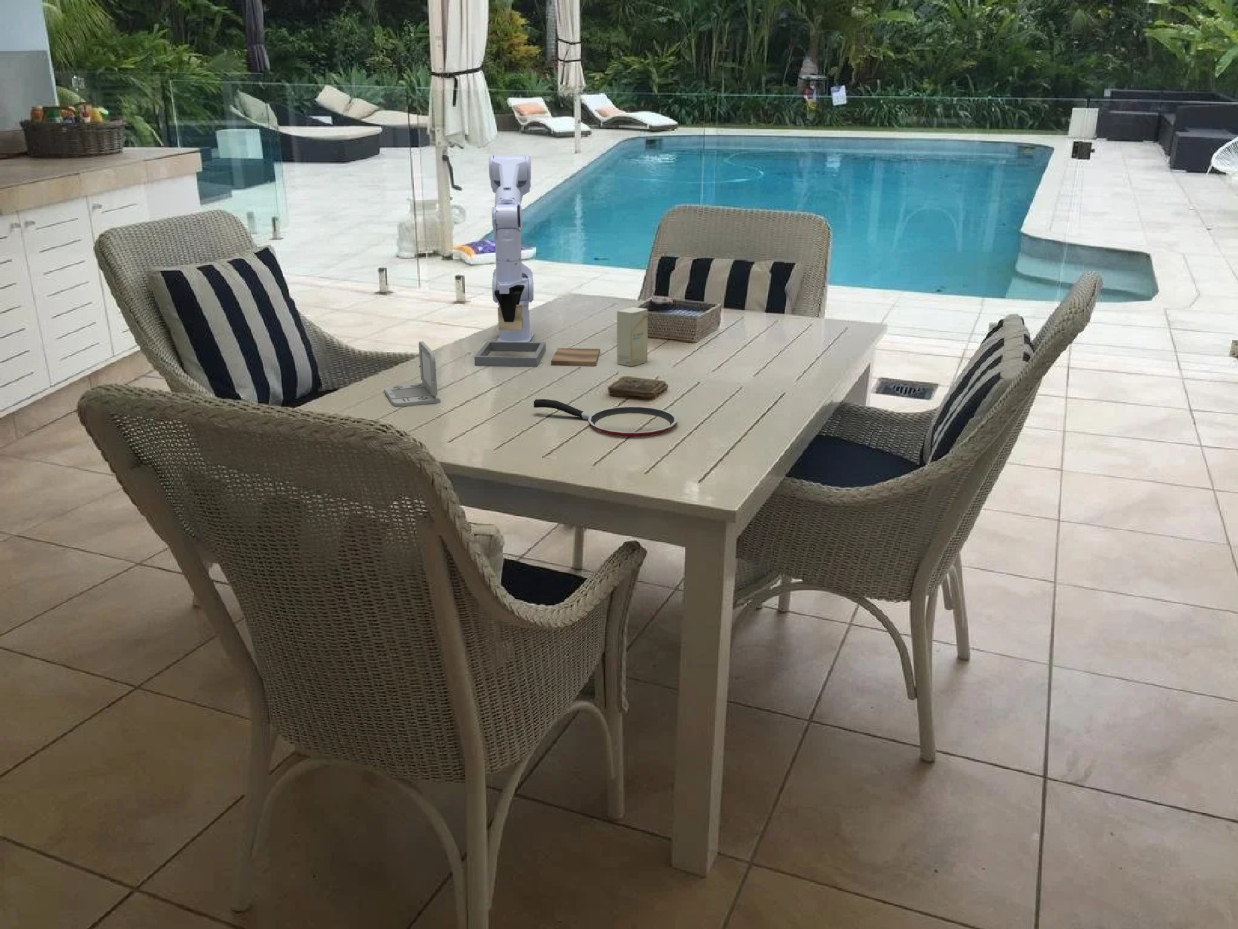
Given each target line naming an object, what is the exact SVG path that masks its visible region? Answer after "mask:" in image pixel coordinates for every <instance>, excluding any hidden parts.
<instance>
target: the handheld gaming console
mask: <svg viewBox="0 0 1238 929" xmlns="http://www.w3.org/2000/svg"><path fill="white" fill-rule="evenodd" d="M418 355H419V356H418V357H419V366H418V367H419V370H420V373H419V374H420V381H421V382H413V383H411V384H409V383H407V384H398V385H387V386H384V388H383V390H384V391H383V392H384V394H385V395H386V397H387V398H388V400H389V401H390V403H391V405H392V406H394V407H400V408H401V407H412V406H421V405H430V404H440V403H441V399H440V397H439V396H438V382H437V365H436V364H437V363H436V356H435V353H434V351H432V349H431V348H430V347H429V346H428V345H427V344H426V343H425V342H424V341H419V342H418Z"/></svg>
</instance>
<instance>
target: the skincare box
mask: <svg viewBox="0 0 1238 929" xmlns="http://www.w3.org/2000/svg"><path fill="white" fill-rule="evenodd" d="M648 314H649V313H648V308H644V307H642V308H641V307H635V306H631V307H628V308H623V309H620V310H619V309H618V310H616V363H617V365H623V366H628V367H634V366H638V365H641V364H644V363H645V364H646V363H647V362H648V343H649V341H648V335H649V334H648V333H649V332H648V329H649V328H648V324H649V323H648V322H649V321H648V320H649V319H648V317H649V316H648Z"/></svg>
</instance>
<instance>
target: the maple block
mask: <svg viewBox="0 0 1238 929" xmlns="http://www.w3.org/2000/svg"><path fill="white" fill-rule="evenodd" d="M497 322H498V331H500V330H521V329H522V328H523V305H516V310H515V318H514V322H504V319H503V315H502V311H501V307H500V306H498V307H497Z"/></svg>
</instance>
